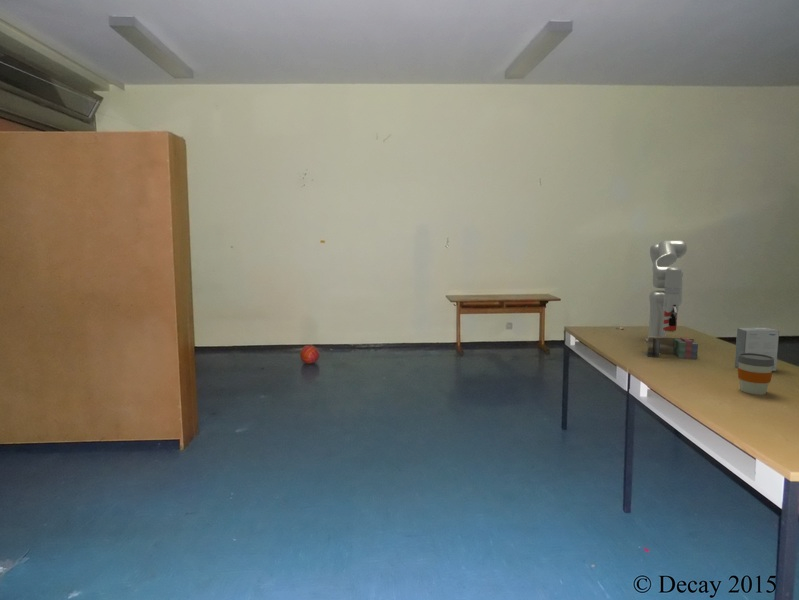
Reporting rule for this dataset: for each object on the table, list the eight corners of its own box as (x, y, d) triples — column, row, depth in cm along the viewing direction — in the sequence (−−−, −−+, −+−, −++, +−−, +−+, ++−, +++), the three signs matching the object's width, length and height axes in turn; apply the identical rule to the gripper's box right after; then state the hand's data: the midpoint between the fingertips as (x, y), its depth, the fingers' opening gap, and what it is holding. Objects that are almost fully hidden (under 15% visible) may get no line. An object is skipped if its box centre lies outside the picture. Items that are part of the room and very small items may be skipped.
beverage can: (661, 329, 273) (662, 307, 271) (674, 330, 272) (675, 308, 270) (665, 331, 267) (666, 309, 265) (678, 332, 266) (679, 309, 264)
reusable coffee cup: (756, 386, 218) (759, 352, 216) (779, 395, 205) (782, 359, 204) (728, 386, 217) (731, 353, 216) (749, 396, 205) (752, 360, 203)
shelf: (646, 352, 282) (648, 335, 281) (691, 354, 277) (693, 337, 276) (652, 356, 271) (653, 339, 270) (699, 359, 267) (700, 341, 265)
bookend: (642, 352, 281) (643, 337, 279) (653, 353, 279) (654, 337, 278) (647, 357, 271) (648, 340, 270) (659, 357, 270) (660, 341, 269)
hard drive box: (766, 367, 250) (770, 327, 247) (776, 371, 242) (780, 330, 240) (733, 366, 251) (736, 327, 249) (742, 370, 244) (745, 330, 241)
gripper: (659, 289, 276) (657, 321, 278) (669, 292, 259) (667, 327, 261) (674, 289, 274) (672, 322, 276) (685, 293, 257) (683, 327, 260)
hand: (670, 324), depth 269 cm, fingers closed on beverage can, 6 cm apart
